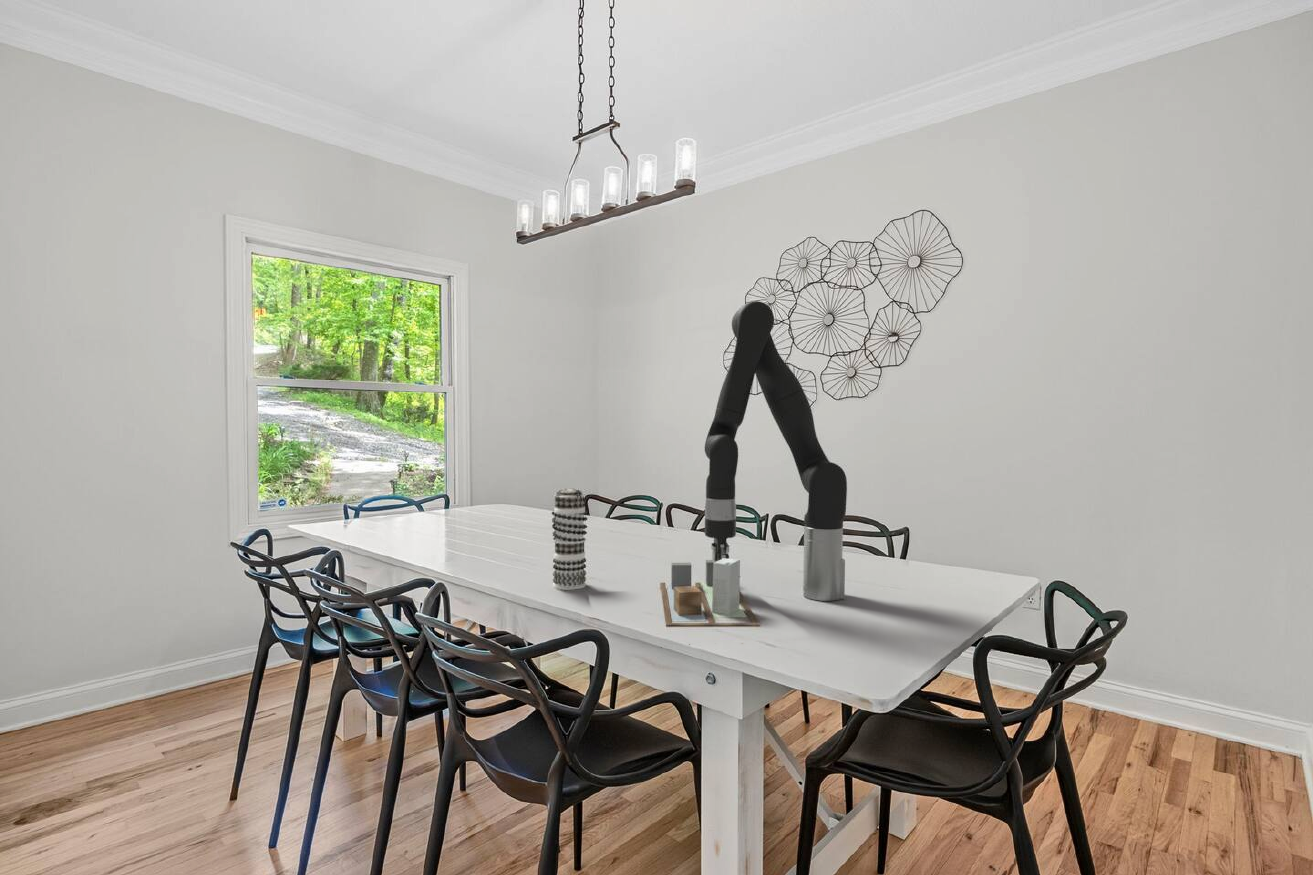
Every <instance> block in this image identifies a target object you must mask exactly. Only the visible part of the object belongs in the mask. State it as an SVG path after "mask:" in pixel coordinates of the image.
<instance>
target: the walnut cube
mask: <svg viewBox="0 0 1313 875" xmlns="http://www.w3.org/2000/svg"><path fill="white" fill-rule="evenodd" d="M702 606H703V604H702V591H700V590H699V589H698V588H697V587H696V586H695V585H691V586H683V587H674V610H675V611H676V613H677V614H678V615H679V616H684V615H701V610H702V611H703V607H702Z"/></svg>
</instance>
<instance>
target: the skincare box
mask: <svg viewBox="0 0 1313 875" xmlns="http://www.w3.org/2000/svg"><path fill="white" fill-rule="evenodd" d="M740 576H741V560H740V559H738V558H737V559H735V558H729V559H725V558H723V559H721V560H719V561H717V562H714V563H713V596H712V608H711V613H712V614H713V613H717V614H724V615H731V614H732V613H734V612H735V611H737V610H738V609H739V604H740V600H739V591H740V592H741V588H740V585H741V584H740V582H741V581H740V580H741V579H740V578H741V577H740Z"/></svg>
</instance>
